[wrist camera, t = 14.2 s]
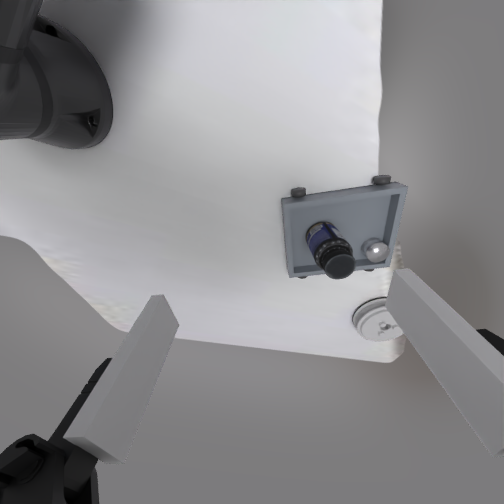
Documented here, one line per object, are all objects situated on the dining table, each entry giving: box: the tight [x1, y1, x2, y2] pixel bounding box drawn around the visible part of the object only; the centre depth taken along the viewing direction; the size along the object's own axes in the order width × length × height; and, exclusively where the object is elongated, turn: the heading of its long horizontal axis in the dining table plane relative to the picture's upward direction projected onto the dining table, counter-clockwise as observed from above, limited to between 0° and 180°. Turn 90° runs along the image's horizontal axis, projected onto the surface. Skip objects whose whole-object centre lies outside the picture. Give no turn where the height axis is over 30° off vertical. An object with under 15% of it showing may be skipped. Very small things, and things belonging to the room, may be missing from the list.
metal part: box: [361, 237, 390, 263], centre depth 40 cm, size 4×4×3 cm
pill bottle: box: [306, 222, 356, 279], centre depth 36 cm, size 6×6×11 cm
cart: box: [281, 175, 408, 279], centre depth 39 cm, size 20×19×4 cm
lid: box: [353, 298, 404, 341], centre depth 51 cm, size 13×13×5 cm
